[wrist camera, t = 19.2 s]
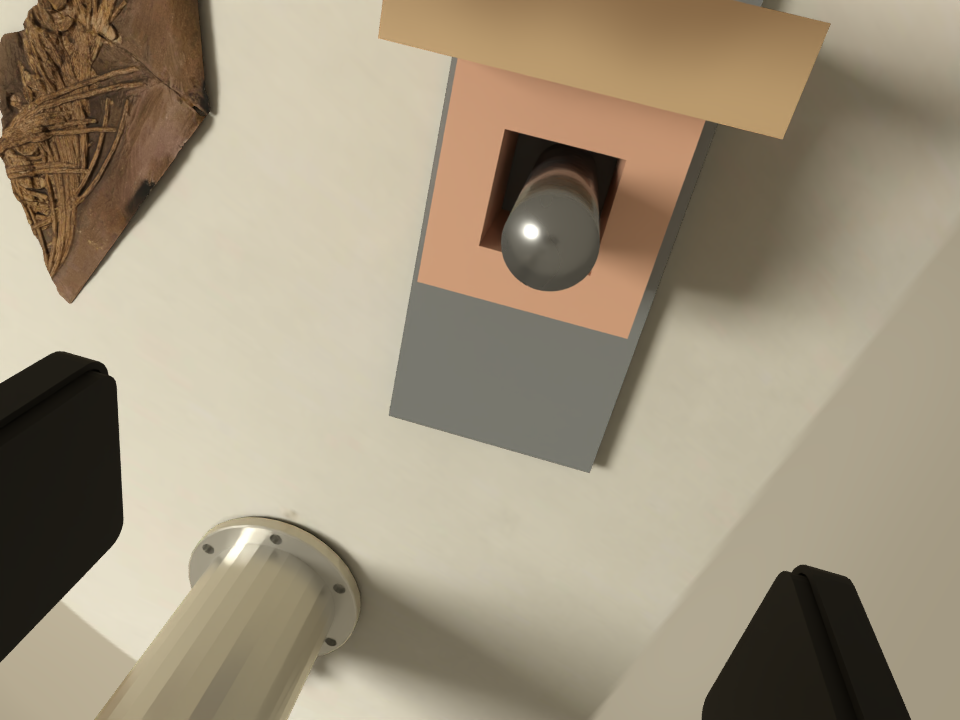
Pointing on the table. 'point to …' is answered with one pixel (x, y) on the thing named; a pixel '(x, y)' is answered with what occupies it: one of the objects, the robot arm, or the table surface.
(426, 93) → the table surface
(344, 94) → the table surface
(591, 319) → the block
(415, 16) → the block
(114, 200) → the wooden fragment
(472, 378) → the track
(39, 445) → the robot arm
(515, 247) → the dowel
